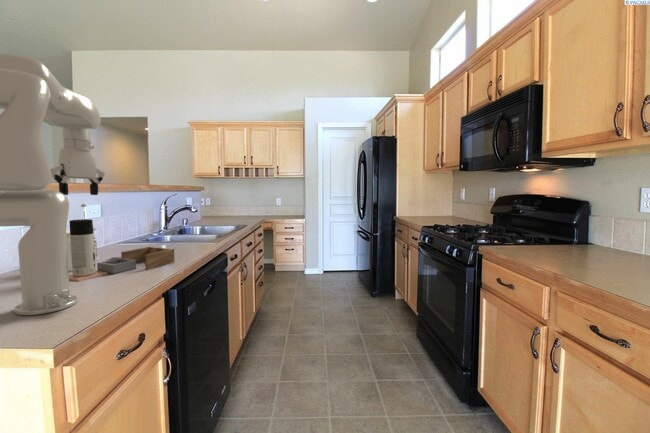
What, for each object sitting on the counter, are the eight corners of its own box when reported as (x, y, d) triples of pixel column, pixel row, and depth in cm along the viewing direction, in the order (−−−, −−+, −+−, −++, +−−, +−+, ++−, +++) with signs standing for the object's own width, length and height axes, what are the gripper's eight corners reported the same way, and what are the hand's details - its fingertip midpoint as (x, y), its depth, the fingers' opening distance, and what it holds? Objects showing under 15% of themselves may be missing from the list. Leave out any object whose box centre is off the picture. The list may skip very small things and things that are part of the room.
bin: (136, 268, 123) (135, 260, 123) (114, 274, 115) (113, 265, 114) (120, 266, 126) (119, 258, 126) (97, 271, 118) (97, 262, 117)
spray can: (99, 273, 113) (96, 219, 111) (76, 278, 107) (73, 221, 105) (91, 271, 116) (88, 218, 115) (69, 275, 111) (65, 220, 109)
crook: (146, 259, 139) (146, 256, 139) (140, 262, 134) (140, 259, 134) (112, 260, 137) (112, 257, 137) (105, 263, 132) (105, 260, 132)
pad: (108, 274, 115) (107, 272, 115) (78, 281, 106) (78, 279, 106) (89, 271, 118) (89, 269, 118) (60, 278, 109) (60, 276, 109)
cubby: (174, 262, 134) (174, 249, 133) (147, 269, 122) (147, 254, 121) (150, 259, 139) (149, 246, 138) (121, 266, 126) (121, 252, 126)
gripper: (95, 150, 117) (97, 194, 118) (41, 142, 101) (44, 194, 102) (109, 149, 115) (111, 195, 116) (55, 141, 99) (58, 195, 100)
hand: (79, 194), depth 109 cm, fingers open, 9 cm apart
